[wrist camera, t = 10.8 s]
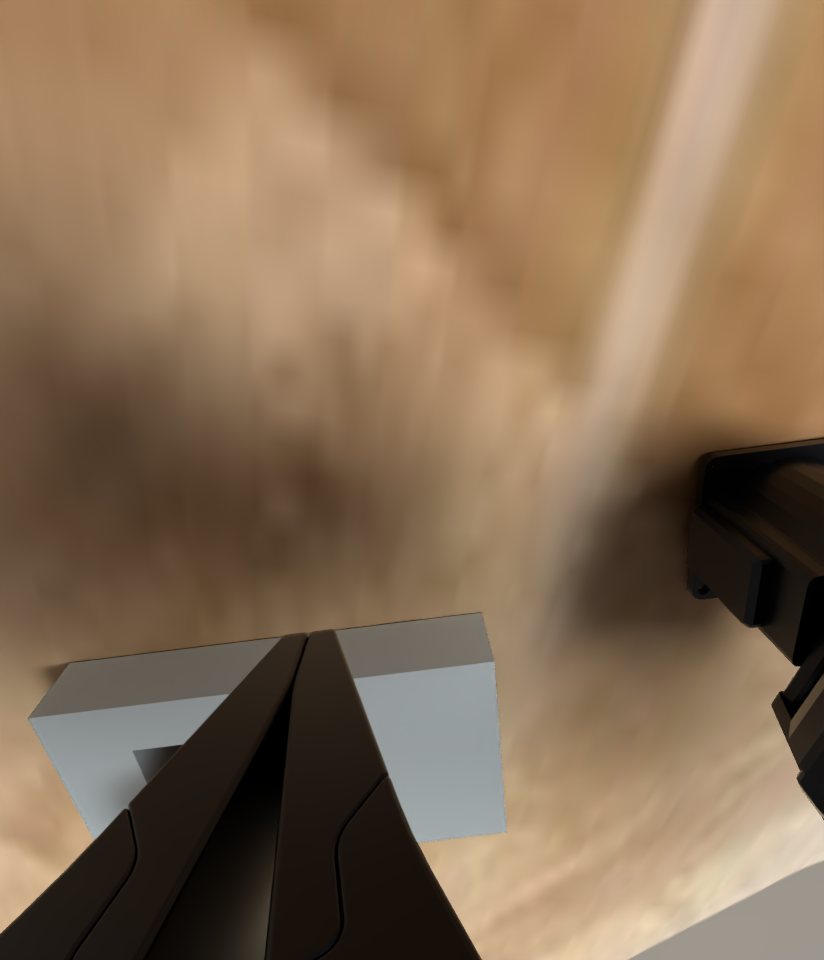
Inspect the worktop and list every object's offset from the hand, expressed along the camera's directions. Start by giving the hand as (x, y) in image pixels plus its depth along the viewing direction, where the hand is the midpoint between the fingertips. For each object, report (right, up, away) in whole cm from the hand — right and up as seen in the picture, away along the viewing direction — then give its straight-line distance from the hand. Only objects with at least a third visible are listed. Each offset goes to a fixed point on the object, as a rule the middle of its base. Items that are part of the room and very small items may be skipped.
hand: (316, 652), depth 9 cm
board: (-4, -8, +17) cm, 19 cm away
